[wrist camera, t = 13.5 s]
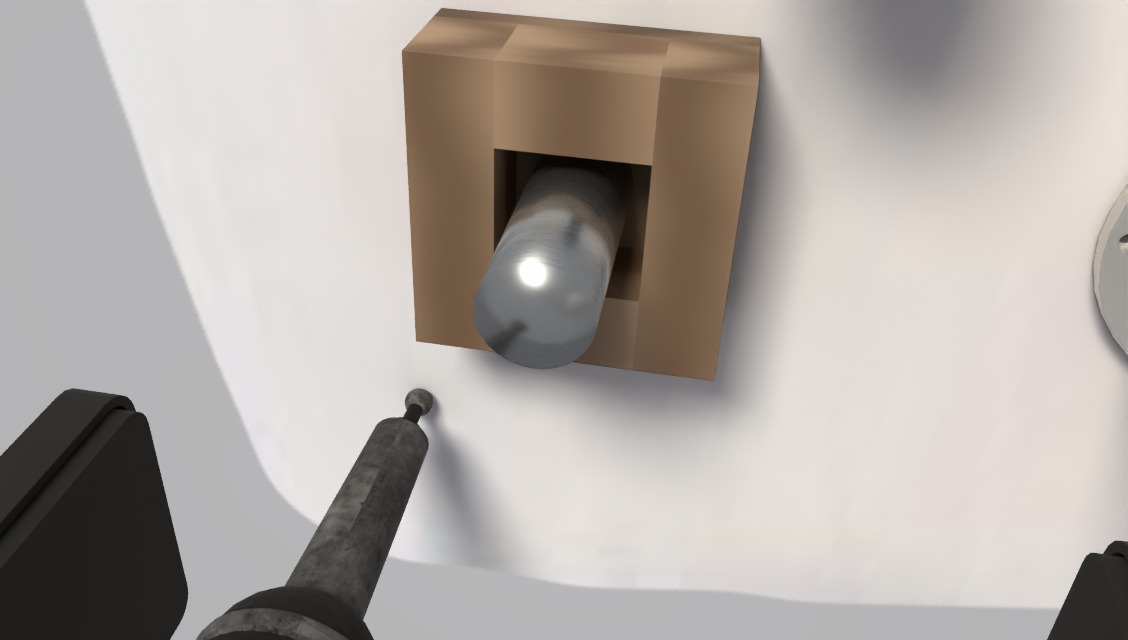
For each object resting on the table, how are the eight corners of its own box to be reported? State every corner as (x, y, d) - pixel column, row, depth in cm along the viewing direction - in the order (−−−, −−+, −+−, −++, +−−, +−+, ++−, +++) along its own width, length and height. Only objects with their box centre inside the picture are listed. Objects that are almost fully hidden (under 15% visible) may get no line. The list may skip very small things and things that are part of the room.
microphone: (491, 344, 47) (338, 719, 31) (492, 457, 51) (357, 845, 34) (348, 326, 48) (124, 682, 31) (359, 439, 52) (165, 809, 35)
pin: (637, 139, 39) (600, 270, 31) (629, 231, 41) (593, 376, 33) (534, 129, 40) (471, 255, 31) (533, 220, 42) (473, 360, 34)
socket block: (760, 37, 37) (758, 86, 33) (719, 312, 44) (713, 381, 40) (441, 8, 39) (401, 50, 35) (448, 278, 45) (416, 341, 41)
